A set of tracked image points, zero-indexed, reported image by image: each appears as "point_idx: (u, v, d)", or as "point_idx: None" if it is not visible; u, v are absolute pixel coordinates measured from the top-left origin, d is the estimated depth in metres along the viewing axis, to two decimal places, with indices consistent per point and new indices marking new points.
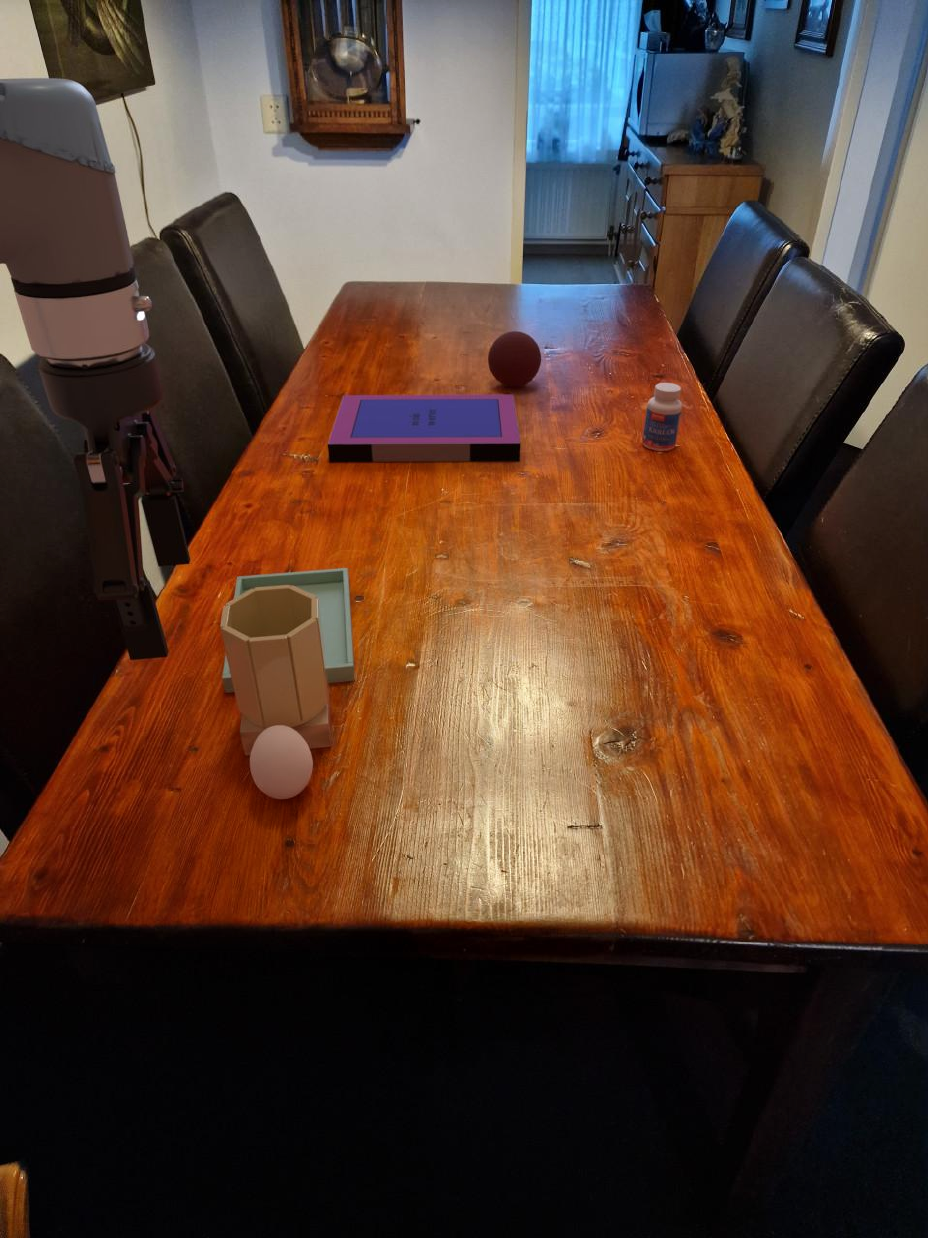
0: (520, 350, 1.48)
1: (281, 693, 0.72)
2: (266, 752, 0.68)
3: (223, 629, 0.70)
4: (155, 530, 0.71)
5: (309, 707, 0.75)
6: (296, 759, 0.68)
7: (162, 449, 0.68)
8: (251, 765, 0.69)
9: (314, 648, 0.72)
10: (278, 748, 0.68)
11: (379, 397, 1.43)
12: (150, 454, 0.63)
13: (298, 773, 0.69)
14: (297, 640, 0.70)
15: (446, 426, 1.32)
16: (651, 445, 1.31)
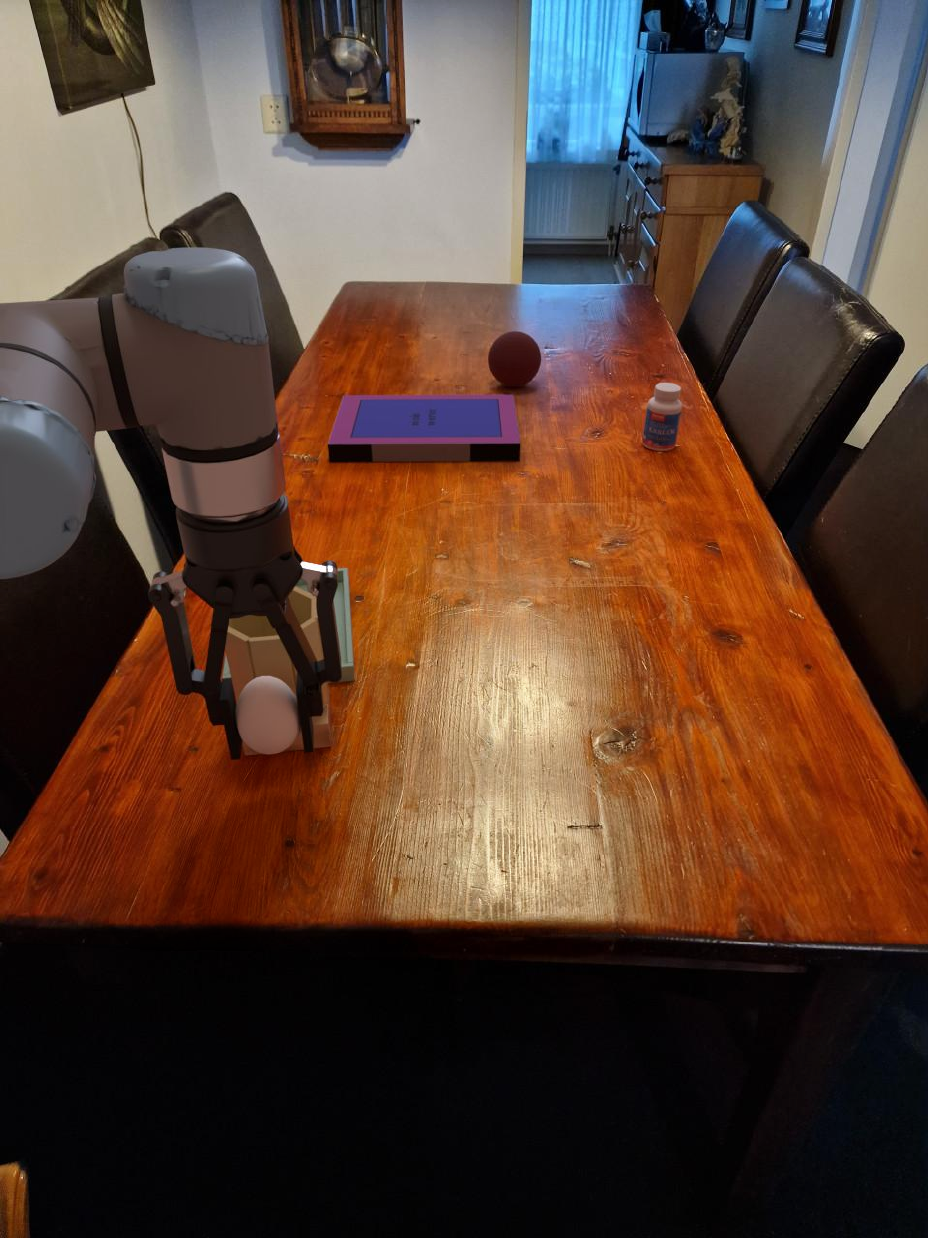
0: (520, 350, 1.48)
1: None
2: (253, 703, 0.64)
3: None
4: (234, 722, 0.66)
5: None
6: (284, 711, 0.65)
7: (189, 635, 0.63)
8: (236, 717, 0.66)
9: (314, 648, 0.72)
10: (265, 698, 0.64)
11: (379, 397, 1.43)
12: None
13: (286, 726, 0.65)
14: None
15: (446, 426, 1.32)
16: (651, 445, 1.31)
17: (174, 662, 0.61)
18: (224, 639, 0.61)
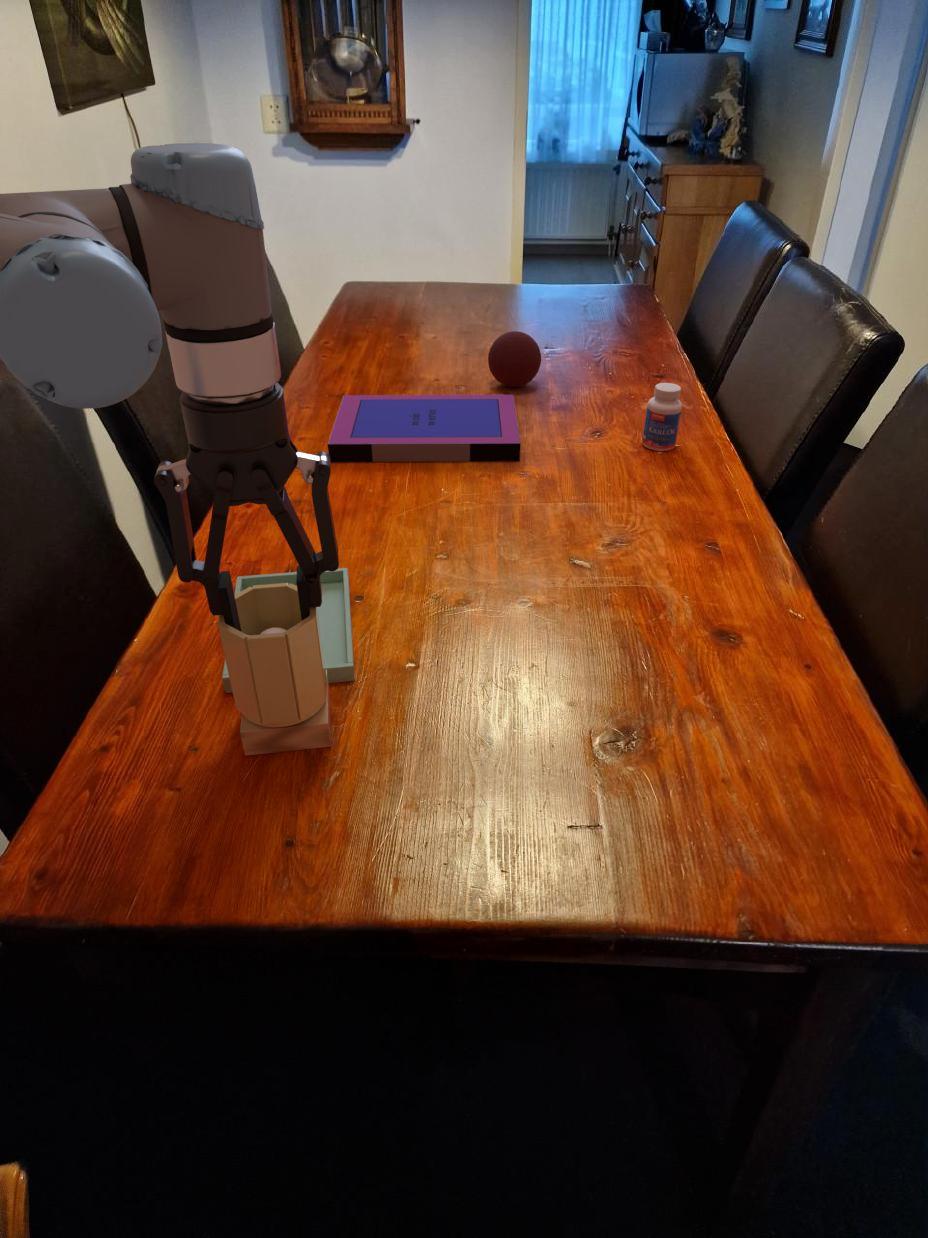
0: (520, 350, 1.48)
1: (279, 691, 0.72)
2: None
3: (221, 627, 0.70)
4: (232, 612, 0.71)
5: (307, 706, 0.74)
6: None
7: (191, 526, 0.67)
8: None
9: (312, 646, 0.72)
10: None
11: (379, 397, 1.43)
12: None
13: None
14: (295, 638, 0.70)
15: (446, 426, 1.32)
16: (651, 445, 1.31)
17: (176, 548, 0.66)
18: (224, 526, 0.65)
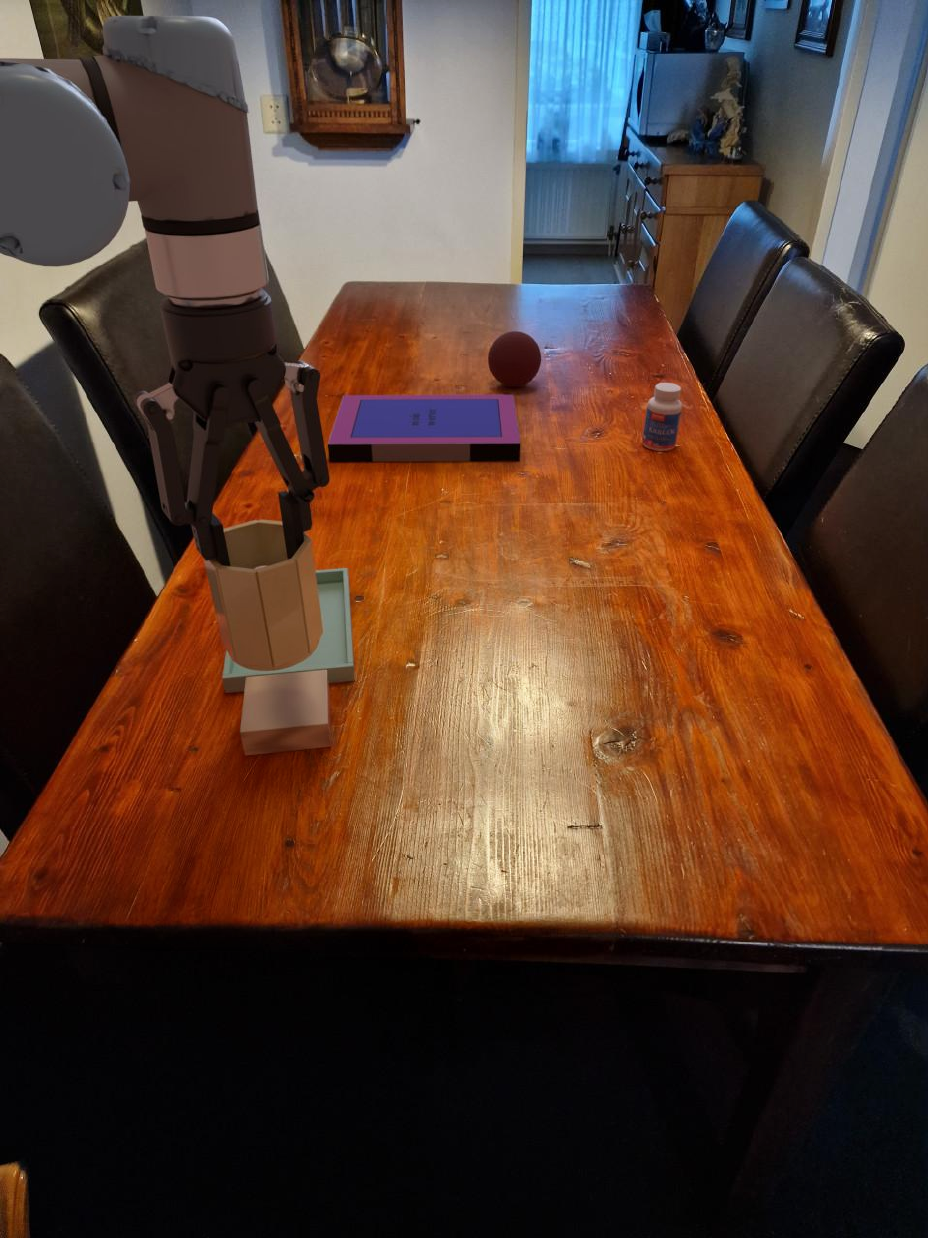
0: (520, 350, 1.48)
1: (290, 625, 0.69)
2: None
3: (220, 569, 0.65)
4: None
5: (313, 637, 0.72)
6: None
7: None
8: None
9: (312, 572, 0.70)
10: None
11: (379, 397, 1.43)
12: None
13: None
14: (302, 563, 0.67)
15: (446, 426, 1.32)
16: (651, 445, 1.31)
17: (168, 487, 0.60)
18: (217, 453, 0.61)
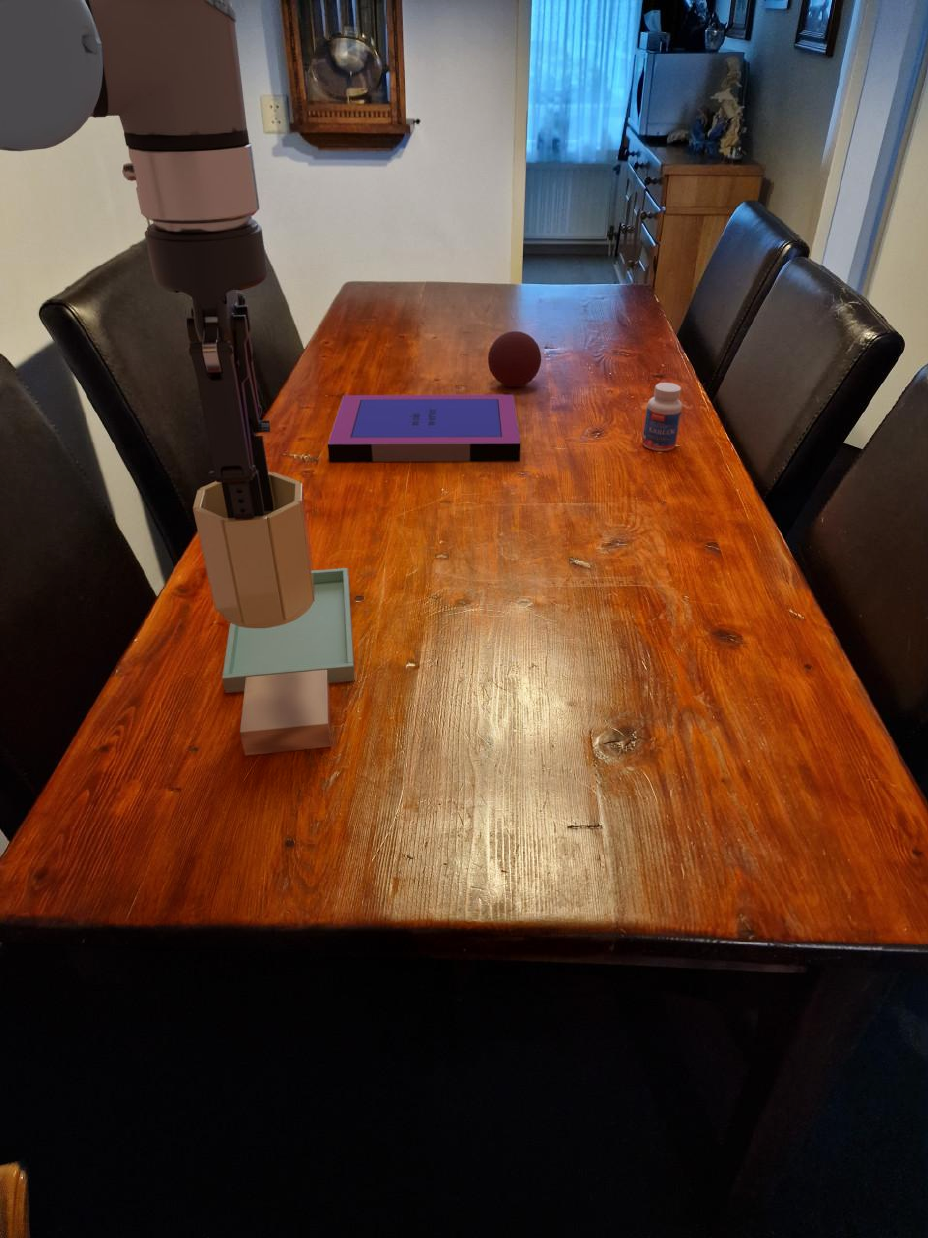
0: (520, 350, 1.48)
1: (310, 553, 0.70)
2: None
3: (272, 516, 0.63)
4: None
5: None
6: None
7: None
8: None
9: None
10: None
11: (379, 397, 1.43)
12: None
13: None
14: None
15: (446, 426, 1.32)
16: (651, 445, 1.31)
17: (244, 437, 0.56)
18: (244, 392, 0.58)
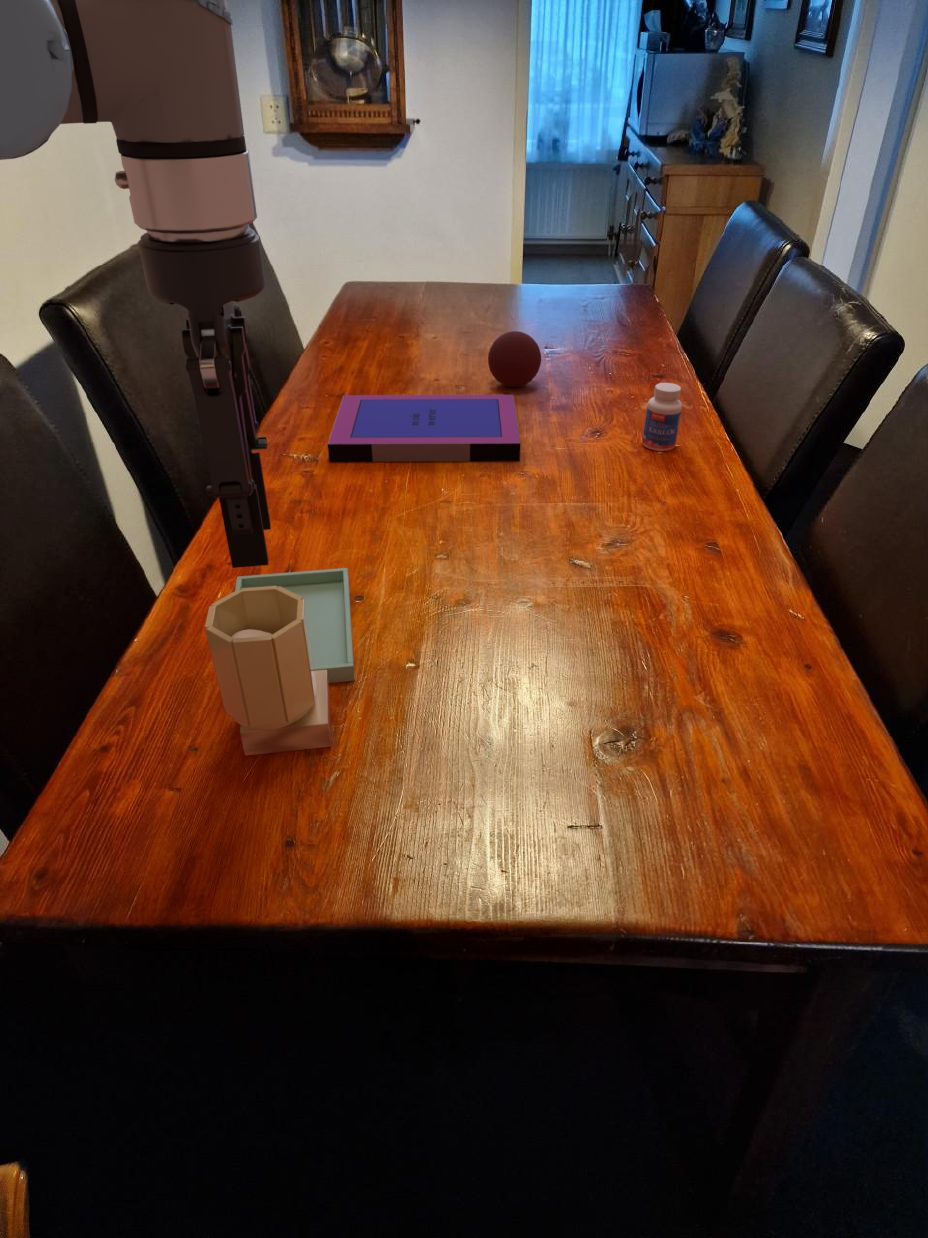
0: (520, 350, 1.48)
1: (311, 659, 0.76)
2: None
3: (276, 637, 0.69)
4: None
5: None
6: None
7: None
8: None
9: None
10: (249, 632, 0.74)
11: (379, 397, 1.43)
12: None
13: None
14: None
15: (446, 426, 1.32)
16: (651, 445, 1.31)
17: (243, 452, 0.55)
18: (242, 405, 0.57)
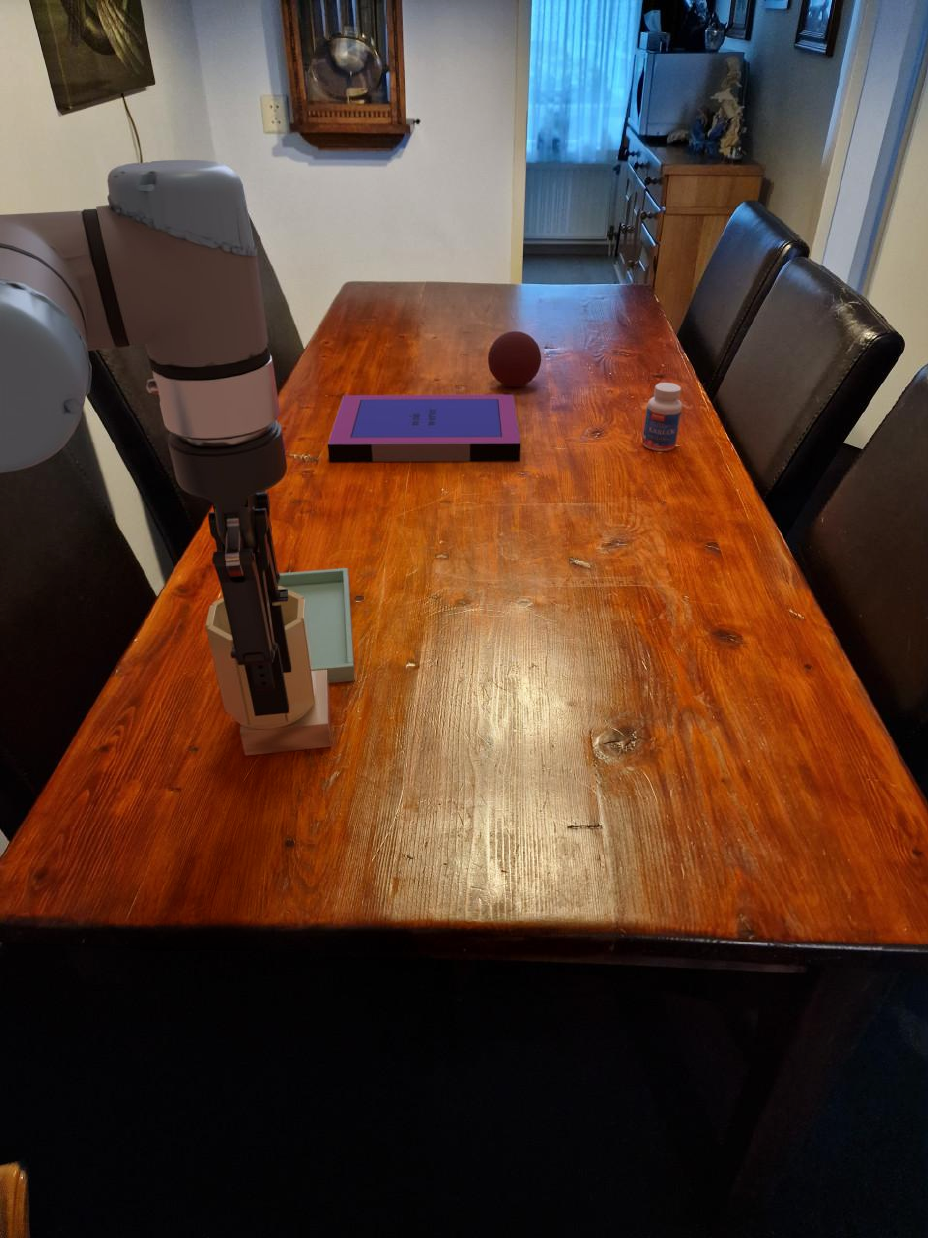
0: (520, 350, 1.48)
1: (311, 658, 0.76)
2: None
3: None
4: None
5: None
6: None
7: None
8: None
9: None
10: None
11: (379, 397, 1.43)
12: None
13: None
14: None
15: (446, 426, 1.32)
16: (651, 445, 1.31)
17: (266, 627, 0.58)
18: (265, 576, 0.60)
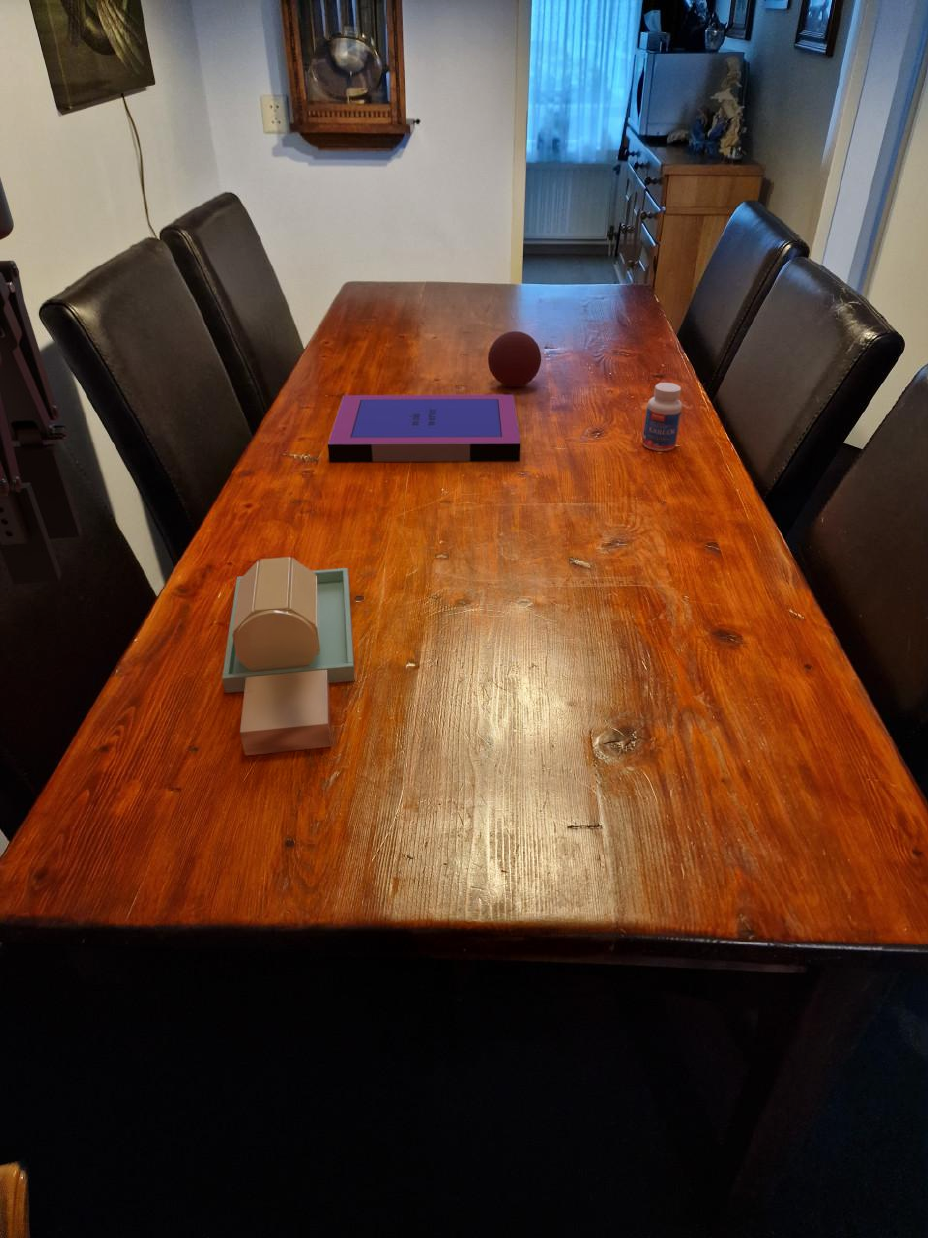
0: (520, 350, 1.48)
1: None
2: None
3: (294, 559, 0.88)
4: None
5: None
6: None
7: None
8: None
9: None
10: None
11: (379, 397, 1.43)
12: None
13: None
14: None
15: (446, 426, 1.32)
16: (651, 445, 1.31)
17: None
18: None
